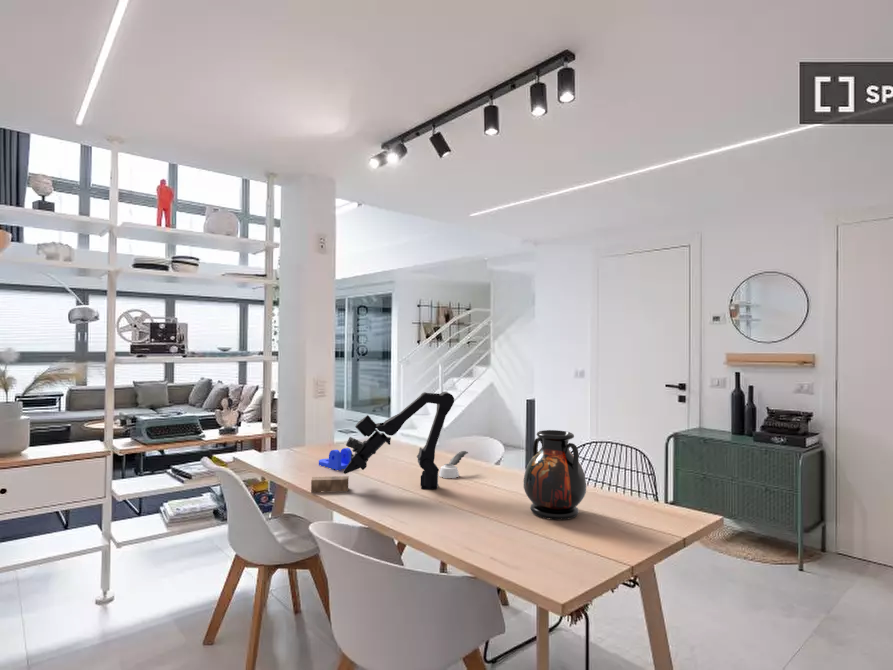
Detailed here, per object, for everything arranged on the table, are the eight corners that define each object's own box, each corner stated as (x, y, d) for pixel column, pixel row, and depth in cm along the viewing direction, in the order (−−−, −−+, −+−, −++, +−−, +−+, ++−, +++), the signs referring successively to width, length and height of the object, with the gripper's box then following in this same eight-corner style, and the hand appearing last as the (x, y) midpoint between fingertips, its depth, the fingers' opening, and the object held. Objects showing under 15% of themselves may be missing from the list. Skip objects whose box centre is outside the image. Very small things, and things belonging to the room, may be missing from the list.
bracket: (352, 468, 243) (352, 448, 243) (337, 471, 237) (337, 451, 237) (329, 462, 255) (330, 443, 256) (315, 464, 249) (315, 445, 250)
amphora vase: (510, 511, 183) (511, 431, 184) (549, 500, 197) (550, 426, 197) (559, 528, 166) (561, 440, 167) (598, 515, 180) (599, 434, 181)
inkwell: (434, 476, 230) (434, 453, 231) (459, 469, 244) (459, 447, 245) (450, 480, 225) (450, 456, 225) (475, 472, 239) (475, 450, 239)
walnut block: (348, 476, 209) (312, 476, 207) (348, 479, 204) (311, 480, 202) (348, 488, 209) (312, 489, 207) (347, 492, 204) (311, 493, 202)
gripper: (358, 426, 217) (330, 453, 215) (358, 434, 198) (328, 464, 196) (377, 445, 218) (349, 472, 216) (378, 454, 199) (348, 484, 197)
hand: (343, 473), depth 206 cm, fingers closed
